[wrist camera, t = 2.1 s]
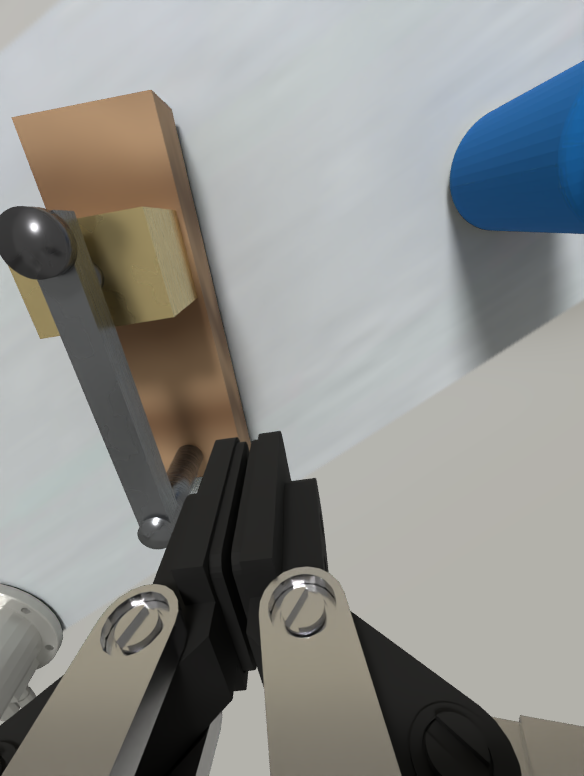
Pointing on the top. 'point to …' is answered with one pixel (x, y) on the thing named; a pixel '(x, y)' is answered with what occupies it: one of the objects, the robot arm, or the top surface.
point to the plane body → (172, 191)
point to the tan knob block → (127, 268)
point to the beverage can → (526, 161)
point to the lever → (99, 363)
